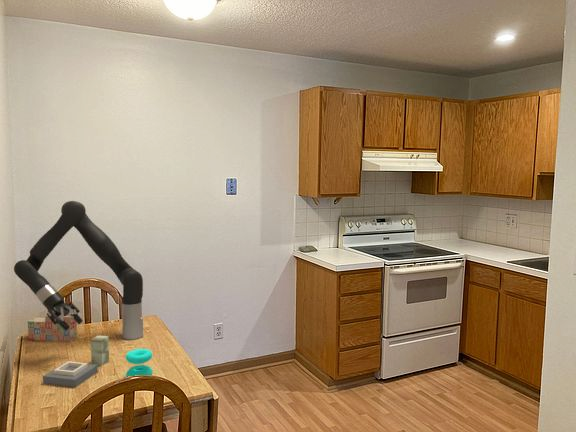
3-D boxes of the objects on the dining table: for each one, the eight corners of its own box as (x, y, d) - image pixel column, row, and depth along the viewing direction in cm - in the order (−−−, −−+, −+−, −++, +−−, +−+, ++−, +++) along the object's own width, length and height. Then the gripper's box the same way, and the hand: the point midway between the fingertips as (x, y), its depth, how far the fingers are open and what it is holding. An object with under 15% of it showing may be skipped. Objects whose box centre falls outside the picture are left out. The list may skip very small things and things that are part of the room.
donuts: (141, 358, 182) (120, 355, 185) (142, 383, 183) (120, 379, 186) (157, 349, 191) (136, 346, 194) (157, 373, 192) (137, 369, 195)
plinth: (67, 368, 195) (66, 358, 195) (97, 372, 193) (97, 361, 192) (43, 383, 182) (42, 372, 181) (75, 387, 179) (75, 375, 178)
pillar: (98, 360, 205) (97, 335, 203) (109, 361, 204) (108, 336, 202) (91, 364, 200) (90, 339, 199) (102, 366, 199) (101, 340, 198)
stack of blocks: (28, 340, 228) (27, 315, 227) (36, 335, 234) (35, 311, 233) (70, 342, 225) (69, 317, 224) (77, 337, 232) (76, 313, 230)
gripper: (43, 296, 196) (69, 325, 195) (66, 287, 210) (90, 315, 209) (32, 307, 198) (58, 336, 196) (56, 298, 211) (79, 326, 210)
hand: (74, 325), depth 203 cm, fingers open, 8 cm apart
